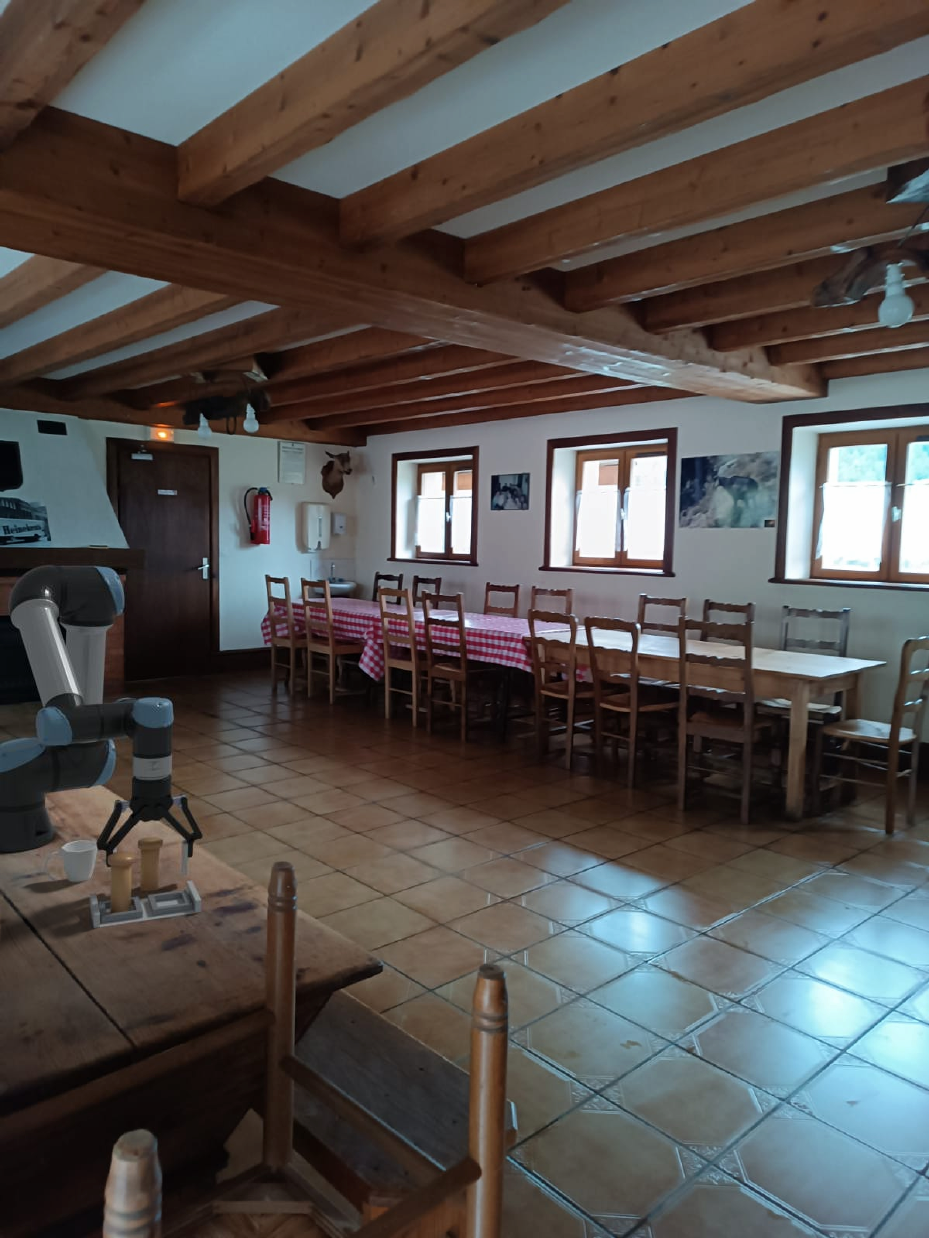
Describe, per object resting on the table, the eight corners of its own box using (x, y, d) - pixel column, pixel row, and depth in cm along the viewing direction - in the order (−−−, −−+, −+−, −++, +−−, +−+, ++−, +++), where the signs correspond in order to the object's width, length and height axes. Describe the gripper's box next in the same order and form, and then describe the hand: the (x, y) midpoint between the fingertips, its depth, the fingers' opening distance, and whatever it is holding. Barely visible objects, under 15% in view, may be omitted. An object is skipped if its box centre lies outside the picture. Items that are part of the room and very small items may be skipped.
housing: (89, 911, 164) (90, 893, 164) (191, 897, 173) (191, 880, 173) (93, 934, 156) (94, 915, 155) (200, 917, 164) (201, 899, 164)
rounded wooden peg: (105, 909, 163) (106, 853, 162) (132, 905, 166) (133, 850, 165) (107, 919, 159) (109, 862, 158) (135, 915, 161) (136, 859, 160)
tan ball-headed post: (135, 890, 175) (136, 838, 174) (159, 887, 177) (161, 835, 176) (138, 899, 171) (139, 846, 170) (163, 896, 173) (164, 843, 172)
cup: (97, 888, 175) (98, 850, 175) (43, 893, 171) (43, 854, 171) (97, 875, 182) (98, 838, 181) (45, 880, 178) (45, 842, 177)
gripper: (86, 785, 163) (84, 892, 165) (218, 775, 174) (215, 875, 176) (83, 775, 170) (81, 878, 171) (211, 765, 181) (208, 862, 183)
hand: (149, 877), depth 174 cm, fingers open, 13 cm apart
